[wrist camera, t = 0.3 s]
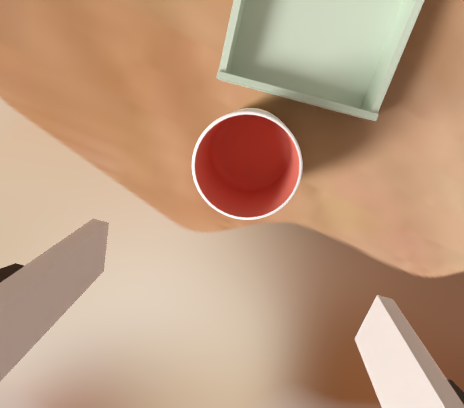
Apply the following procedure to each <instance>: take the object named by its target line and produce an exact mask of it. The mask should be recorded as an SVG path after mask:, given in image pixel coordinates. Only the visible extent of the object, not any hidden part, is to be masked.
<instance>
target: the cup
mask: <svg viewBox="0 0 464 408" xmlns="http://www.w3.org/2000/svg"><path fill="white" fill-rule="evenodd" d="M302 170H303V161H302V154H301V150H300V147H299V145H298V142H297V140H296V139H295V137H294V135H293V134H292V132H291V131H290V130H289V129H288V128H287V127H286V126H285V124H284V123H283V122H282V121H281V120H280V119H279V118H278V117H276V116H275V115H273V114H272V113H270V112H268V111H265V110H262V109H257V108H244V109H239V110H236V111H234V112H231V113H229V114H227V115H224V116H222V117H220V118H218V119H217V120H215V121H214V122H213V123H211V124H210V125H209V126H208V127H207V128H206V129H205V130H204V132H203V133H202V134H201V136H200V137H199V139H198V141H197V143H196V146H195V148H194V152H193V157H192V173H193V178H194V182H195V184H196V187H197V189H198V191H199V193H200V194H201V196H202V197H203V199H204V200H205V201H206V202H207V203H208V204H209V205H210V206H211V207H212V208H214V209H215V210H216V211H218V212H220V213H222V214H224V215H226V216H228V217H232V218H236V219H242V220H253V219H259V218H263V217H266V216H269V215H271V214H273V213H275V212H277V211H278V210H280V209H281V208H282V207H284V206H285V205H286V204H287V203H288V202H289V201H290V199H291V198H292V197H293V195H294V194H295V192H296V190H297V189H298V186H299V184H300V181H301V177H302Z"/></svg>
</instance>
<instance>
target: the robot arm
mask: <svg viewBox="0 0 464 408" xmlns="http://www.w3.org/2000/svg"><path fill="white" fill-rule="evenodd" d="M108 224H109V223H107V222H103V221H99V220H96V219H92V220H91V221H89V222H88V223H86V224H85V225H84V226H82V227H81V228H79V229H78V230H76V231H75V232H74V233H72V234H71V235H69V236H68V237H66V238H65V239H63V240H62V241H60V242H59V243H57V244H56V245H54V246H53V247H51V248H50V249H49V250H47V251H46V252H44V253H43V254H41V255H40V256H38V257H37V258H35V259H34V260H33V261H31V262H30V263H28V264H27V265H25V266H23V265H19V264H16V263H15V264H13V265H10V266H7V267H4V268H1V269H0V381H1V380H2V379H3V378H4V377H5V376H6V375H7V374H8V372H9V371H10V370H11V369H12V368H13V367H14V366H15V365H16V364H17V363H18V362H19V361H20V360H21V359H22V358H23V356H24V355H25V354H26V353H27V352H28V351H29V350H30V349H31V348H32V347H33V346H34V345H35V344H36V343H37V342H38V340H39V339H40V338H41V337H42V336H43V335H44V334H45V333H46V332H47V331H48V330H49V329H50V328H51V327H52V326H53V325H54V323H55V322H56V321H57V320H58V319H59V318H60V317H61V316H62V315H63V314H64V313H65V312H66V311H67V309H68V308H69V307H70V306H71V305H72V304H73V303H74V302H75V301H76V300H77V299H78V298H79V297H80V296H81V295H82V294H83V292H85V290H86V289H87V288H88V287H89V286H90V285H91V284H92V283H93V282H94V281H95V280H96V279H97V277H98V276H100V274H101V273H102V272H103V271H104V262H105V253H106V244H107V235H108ZM355 341H356V343H357V346H358V349H359V351H360V354H361V356H362V359H363V361H364V364H365V366H366V369H367V371H368V374H369V376H370V379H371V381H372V384H373V387H374V389H375V392H376V394H377V397H378V399H379V402H380V404H381V407H382V408H464V392H463V391H462V390H461V389H460V388H459V387H458V386H457V385H456V384H455V383H454V382H453V381H452V380H448V379H446V378H445V376H444V375H443V373H442V372H441V370H440V369H439V367H438V366H437V364H436V363H435V361H434V360H433V358H432V357H431V355H430V354H429V352H428V351H427V349H426V348H425V346H424V345H423V343H422V342H421V340H420V339H419V338H418V336H417V334H416V333H415V331H414V330H413V329H412V327H411V325H410V324H409V322H408V321H407V319H406V318H405V316H404V315H403V314H402V312H401V311H400V309H399V308H398V306H397V305H396V303H395V302H394V300H393V299H390V298H386V297H383V296H379V295H377V296H376V298H375V300H374V302H373V304H372V306H371V308H370V310H369V312H368V314H367V316H366V318H365V320H364V321H363V323H362V325H361V327H360V329H359V331H358V333H357V335H356V337H355Z"/></svg>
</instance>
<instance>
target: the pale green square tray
mask: <svg viewBox="0 0 464 408" xmlns="http://www.w3.org/2000/svg"><path fill="white" fill-rule="evenodd" d="M423 3H424V0H234V1H233V5H232V10H231V15H230V20H229V24H228V29H227V34H226V38H225V43H224V48H223V53H222V57H221V62H220V67H219V71H218V73H217V77H216V78H217V79H219V80H221V81H224V82H228V83H231V84H235V85H239V86H243V87H246V88H250V89H254V90H257V91H261V92H265V93H269V94H272V95H276V96H280V97H283V98H287V99H291V100H295V101H298V102H302V103H306V104H309V105H313V106H317V107H321V108H324V109H328V110H332V111H336V112H339V113H343V114H347V115H350V116H354V117H358V118H362V119H367V120H372V121H376V120H377V118H378V115H379V114H377V113H378V111H379V109H380V106H381V104H382V101H383V99H384V97H385V94H386V92H387V89H388V87H389V85H390V82H391V80H392V77H393V75H394V72H395V70H396V68H397V65H398V63H399V60H400V58H401V56H402V53H403V51H404V48H405V46H406V44H407V41H408V39H409V36H410V34H411V32H412V29H413V27H414V24H415V22H416V19H417V17H418V15H419V12H420V10H421V7H422V5H423Z"/></svg>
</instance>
